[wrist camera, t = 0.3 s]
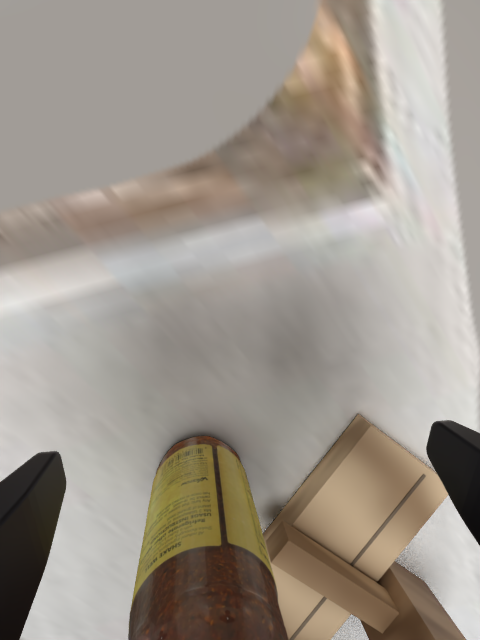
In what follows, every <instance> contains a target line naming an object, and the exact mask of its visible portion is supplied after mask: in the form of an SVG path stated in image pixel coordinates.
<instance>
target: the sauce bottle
mask: <svg viewBox="0 0 480 640" xmlns="http://www.w3.org/2000/svg"><path fill="white" fill-rule="evenodd" d="M128 639H129V640H289V639H288V636H287V631H286V628H285V626H284V621H283V618H282V615H281V611H280V608H279V604H278V592H277V587H276V582H275V579H274V575H273V572H272V568H271V564H270V560H269V557H268V553H267V549H266V545H265V542H264V538H263V534H262V530H261V527H260V523H259V519H258V515H257V512H256V508H255V505H254V502H253V498H252V494H251V491H250V487H249V483H248V480H247V476H246V473H245V470H244V468H243V466H242V464H241V462H240V459H239V457H238V455H237V453H236V452H235V451H233V450H232V449H231V448H230V447H229V446H228V445H226V444H224V443H223V442H222V441H220V440H217V439H215V438H212V437H210V436H197V437H192V438H190V439H186V440H183V441H181V442H179V443H177V444H175V445H174V446H172V447H171V449H170V450H169V451H168V452H167V454H166V455H165V456H164V457H163V459H162V461H161V463H160V465H159V467H158V469H157V472H156V476H155V478H154V481H153V486H152V491H151V497H150V502H149V508H148V514H147V520H146V526H145V532H144V538H143V543H142V549H141V554H140V559H139V565H138V571H137V576H136V582H135V588H134V594H133V600H132V606H131V612H130V620H129V634H128Z"/></svg>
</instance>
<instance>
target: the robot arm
mask: <svg viewBox="0 0 480 640" xmlns="http://www.w3.org/2000/svg"><path fill="white" fill-rule="evenodd" d="M426 450H427V455H428V457H429V459H430V461H431V463H432V465H433V467H434V469H435V471H436V472H437V474H438V476H439V478H440V480H441V482H442V484H443V485H444V487H445V489H446V491H447V493H448V495H449V496H450V498H451V500H452V502H453V504H454V506H455V507H456V509H457V511H458V513H459V514H460V516H461V518H462V519H463V521H464V523H465V524H466V526H467V527H468V529H469V530H470V532H471V533H472V535H473V536H474V538H475V539H476V541H477V542H478V544H479V545H480V433H478V432H476V431H474V430H471V429H469V428H467V427H465V426H463V425H460V424H458V423H456V422H454V421H450V420H445V421H436V422H434V423H433V424H432V427H431V430H430V435H429V439H428V443H427V447H426ZM65 490H66V477H65V472H64V468H63V464H62V459H61V456H60V454H59V452H57V451H51V452H41V453H38V454H36V455H35V456H33V457H32V458H31V459H29V460H28V461H27V462H26V463H24V464H23V465H22V466H20V467H19V468H18V469H17V470H15V471H14V472H13V473H11V474H10V475H9V476H8V477H6V478H5V479H4V480H2V481H1V482H0V640H19V639H20V636H21V634H22V631H23V628H24V625H25V622H26V620H27V617H28V614H29V611H30V609H31V606H32V603H33V600H34V598H35V595H36V592H37V589H38V587H39V584H40V581H41V578H42V576H43V573H44V570H45V567H46V564H47V560H48V557H49V553H50V550H51V546H52V542H53V538H54V534H55V530H56V526H57V522H58V518H59V514H60V510H61V506H62V502H63V498H64V494H65Z"/></svg>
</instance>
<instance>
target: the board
mask: <svg viewBox="0 0 480 640" xmlns="http://www.w3.org/2000/svg"><path fill="white" fill-rule="evenodd" d="M447 496H448V493H447V491H446V489H445V487H444V485H443V484H442V482H441V480H440V478H439V476H438V474H437V473H436V472H435V471H434V470H432V469H431V468H430V467H428V466H427V465H426V464H424V463H423V462H422V461H420V460H419V459H418V458H416V457H415V456H414V455H412V454H411V453H410V452H408V451H407V450H406V449H404V448H403V447H402V446H400V445H399V444H398V443H396V442H395V441H394V440H392V439H391V438H390V437H388V436H387V435H386V434H384V433H383V432H382V431H380V430H379V429H378V428H377V427H375V426H374V425H373V424H371V423H370V422H369V421H367V420H366V419H365V418H363V417H362V416H361V415H359V414H358V415H357V416H356V417H355V419H354V420H353V421H352V423H351V424H350V425H349V426H348V428H347V429H346V430H345V431H344V433H343V434H342V435H341V436H340V438H339V439H338V440H337V441H336V443H335V444H334V445H333V446H332V448H331V449H330V450H329V452H328V453H327V454H326V455H325V457H324V458H323V459H322V460H321V462H320V463H319V464H318V465H317V467H316V468H315V469H314V470H313V472H312V473H311V474H310V476H309V477H308V478H307V479H306V481H305V482H304V483H303V484H302V486H301V487H300V488H299V489H298V491H297V492H296V493H295V494H294V496H293V497H292V498H291V499H290V501H289V502H288V503H287V505H286V506H285V507H284V508H283V510H282V511H281V512H280V513H279V515H278V516H277V517H276V518H275V520H274V521H273V522H272V523H271V525H270V526H269V527H268V528H267V530H266V531H265V532H264V534H263V538H264V542H265V545H266V549H267V553H268V557H269V552H268V548H267V544H266V540H267V539H268V538H269V537H270V535H271V534H272V533H273V532H274V530H275V529H276V528H277V527H278V525H279V524H280V523H281V521H282V520H283V521H284V522H286V523H287V524H289V525H290V526H292V527H293V528H295V529H296V530H298V531H299V532H301V533H302V534H304V535H305V536H307V537H308V538H310V539H311V540H313V541H314V542H316V543H317V544H319V545H320V546H322V547H323V548H325V549H326V550H328V551H330V552H331V553H333V554H334V555H336V556H337V557H339V558H340V559H342V560H343V561H345V562H346V563H348V564H349V565H351V566H352V567H354V568H355V569H357V570H358V571H360V572H361V573H363V574H364V575H366V576H367V577H369V578H370V579H372V580H373V581H375V582H376V583H377V582H378V580H379V579H380V578H381V577H382V576H383V574H384V573H385V572H386V571H387V569H388V568H389V567H390V566H391V565H392V563H393V562H394V561H395V560H396V558H397V557H398V556H399V555H400V553H401V552H402V551H403V550H404V549H405V547H406V546H407V545H408V544H409V542H410V541H411V540H412V539H413V537H414V536H415V535H416V534H417V533H418V531H419V530H420V529H421V528H422V526H423V525H424V524H425V523H426V522H427V520H428V519H429V518H430V517H431V515H432V514H433V513H434V512H435V510H436V509H437V508H438V507H439V506H440V504H441V503H442V502H443V501H444V499H445V498H446V497H447ZM269 560H270V557H269ZM270 564H271V568H272V572H273V575H274V579H275V582H276V587H277V592H278V604H279V608H280V611H281V615H282V618H283V621H284V626H285V628H286V631H287V636H288V639H289V640H330V639H331V638H332V637H333V636H334V635H335V633H336V632H337V631H338V630H339V628H340V627H341V626H342V625H343V623H344V622H345V621H346V620H347V619H348V617H349V616H350V615H351V613H349V612H348V611H346V610H345V609H343V608H341V607H340V606H338V605H337V604H335V603H334V602H332V601H330V600H329V599H327V598H326V597H324V596H322V595H321V594H319V593H318V592H316V591H315V590H313V589H311V588H310V587H308V586H307V585H305V584H304V583H302V582H300V581H299V580H297V579H296V578H294V577H292V576H291V575H289V574H288V573H286V572H285V571H283V570H281V569H280V568H278V567H277V566H275V565H273V564H272V563H271V561H270Z"/></svg>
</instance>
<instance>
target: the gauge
mask: <svg viewBox="0 0 480 640" xmlns="http://www.w3.org/2000/svg"><path fill="white" fill-rule="evenodd" d="M266 544H267V548H268V552H269V557H270V561H271V563H272V564H273V565H275V566H277V567H278V568H280V569H281V570H283V571H285V572H286V573H288V574H289V575H291V576H292V577H294V578H296V579H297V580H299V581H300V582H302V583H304V584H305V585H307V586H308V587H310V588H311V589H313V590H315V591H316V592H318V593H319V594H321V595H322V596H324V597H326V598H327V599H329V600H330V601H332V602H334V603H335V604H337V605H338V606H340V607H341V608H343V609H345V610H346V611H348V612H349V613H351V614H352V615H354V616H356V617H357V618H359V619H360V620H361V623H362V625H363V627H364V629H365V631H366V634H367V636H368V638H369V640H466V639H465V637H464V636H463V635H462V633H461V632H460V630H459V629H458V628H457V626H456V625H455V623H454V622H453V621H452V619H451V618H450V616H449V615H448V614H447V612H446V611H445V609H444V608H443V607H442V605H441V604H440V603H439V601H438V600H437V598H436V597H435V596H434V594H433V593H432V591H431V590H430V589H429V587H428V586H427V584H426V583H425V582H424V581H423V580H421V579H420V578H418V577H417V576H415V575H414V574H412V573H411V572H410V571H408V570H407V569H405V568H404V567H402V566H401V565H399V564H398V563H396V562H395V561H394V562H393V563H392V565H391V566H390V567H389V568H388V569H387V571H386V572H385V573H384V574H383V576H382V577H381V578H380V579H379V580H378V582H377V583H376V582H375V581H373V580H372V579H370V578H369V577H367V576H366V575H364V574H363V573H361V572H360V571H358V570H357V569H355V568H354V567H352V566H351V565H349V564H348V563H346V562H345V561H343V560H342V559H340V558H339V557H337V556H336V555H334V554H333V553H331V552H330V551H328V550H326V549H325V548H323V547H322V546H320V545H319V544H317V543H316V542H314V541H313V540H311V539H310V538H308V537H307V536H305V535H304V534H302V533H301V532H299V531H298V530H296V529H295V528H293V527H292V526H290V525H289V524H287V523H286V522H284V521H283V520H282V521H281V523H280V524H279V525H278V527H277V528H276V529H275V530H274V532H273V533H272V534H271V535H270V537H269V538H268V539H267V540H266Z"/></svg>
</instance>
